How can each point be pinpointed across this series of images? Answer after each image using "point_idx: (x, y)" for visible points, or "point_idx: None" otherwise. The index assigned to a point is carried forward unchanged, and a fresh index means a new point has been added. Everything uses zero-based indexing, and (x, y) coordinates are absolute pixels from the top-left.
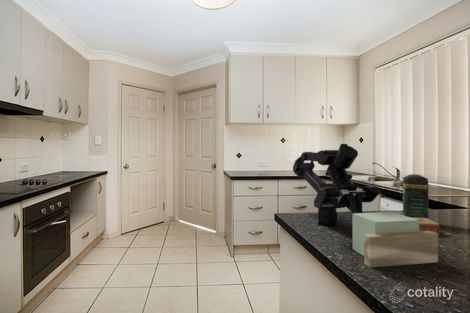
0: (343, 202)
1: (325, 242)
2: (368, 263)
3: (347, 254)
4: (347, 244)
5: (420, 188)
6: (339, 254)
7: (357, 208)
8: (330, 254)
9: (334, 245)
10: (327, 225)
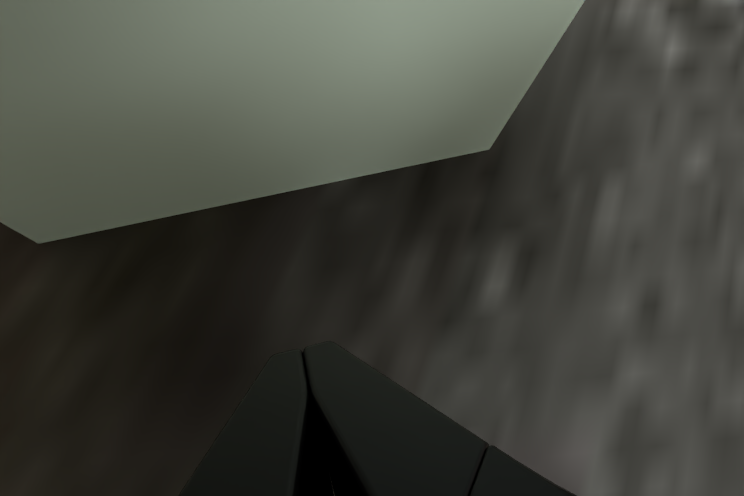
0: None
1: (724, 322)
2: None
3: (573, 26)
4: (501, 276)
5: None
6: (641, 24)
7: (374, 417)
8: (715, 21)
9: (644, 237)
10: None
